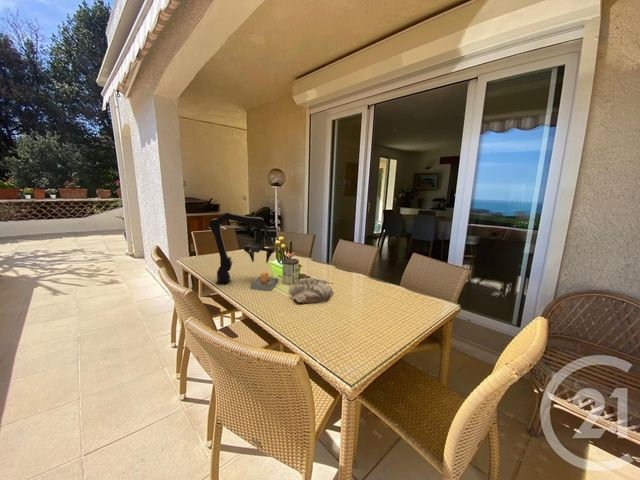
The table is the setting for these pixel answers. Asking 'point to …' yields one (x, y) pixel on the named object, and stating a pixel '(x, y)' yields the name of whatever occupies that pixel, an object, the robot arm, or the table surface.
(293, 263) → the coffee can
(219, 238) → the robot arm
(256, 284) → the rosette plate
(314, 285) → the seashell
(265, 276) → the tall orange box
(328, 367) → the table surface
